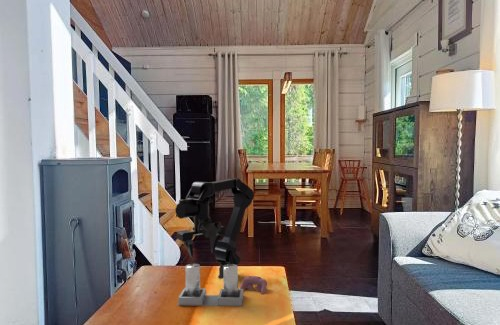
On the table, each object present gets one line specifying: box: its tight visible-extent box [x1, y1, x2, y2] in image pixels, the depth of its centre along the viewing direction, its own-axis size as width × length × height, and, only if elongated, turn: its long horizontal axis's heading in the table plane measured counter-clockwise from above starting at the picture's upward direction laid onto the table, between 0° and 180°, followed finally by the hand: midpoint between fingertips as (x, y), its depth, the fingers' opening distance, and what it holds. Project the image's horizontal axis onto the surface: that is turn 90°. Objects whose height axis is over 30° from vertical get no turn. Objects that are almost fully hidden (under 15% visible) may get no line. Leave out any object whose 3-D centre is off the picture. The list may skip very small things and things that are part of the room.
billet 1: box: [185, 263, 201, 297], centre depth 125 cm, size 5×5×12 cm
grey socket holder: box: [177, 287, 245, 307], centre depth 125 cm, size 22×9×4 cm, turn 87°
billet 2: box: [222, 264, 239, 297], centre depth 124 cm, size 5×5×12 cm
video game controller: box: [239, 275, 268, 295], centre depth 134 cm, size 10×5×7 cm, turn 71°
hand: (202, 254), depth 138 cm, fingers open, 9 cm apart
